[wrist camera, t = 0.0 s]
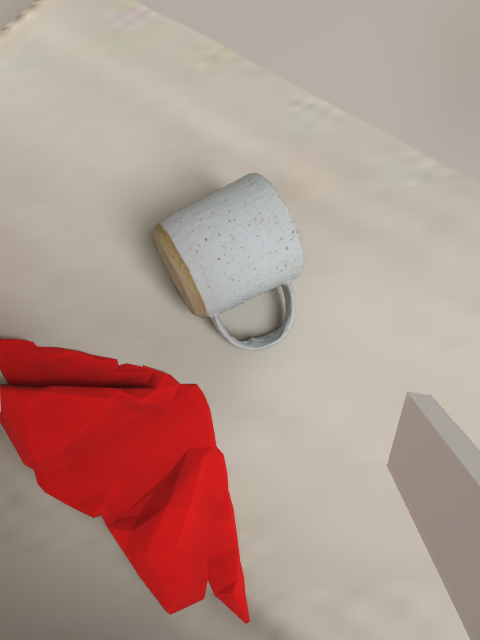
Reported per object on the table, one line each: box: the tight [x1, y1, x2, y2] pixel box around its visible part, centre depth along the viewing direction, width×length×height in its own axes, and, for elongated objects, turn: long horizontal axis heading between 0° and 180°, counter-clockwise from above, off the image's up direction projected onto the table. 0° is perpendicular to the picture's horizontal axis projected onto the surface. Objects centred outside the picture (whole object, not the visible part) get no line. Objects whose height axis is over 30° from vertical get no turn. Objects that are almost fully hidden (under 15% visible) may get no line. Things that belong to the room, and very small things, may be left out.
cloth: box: [0, 339, 250, 624], centre depth 27 cm, size 26×14×2 cm, turn 35°
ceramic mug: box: [153, 173, 304, 351], centre depth 28 cm, size 11×8×8 cm
